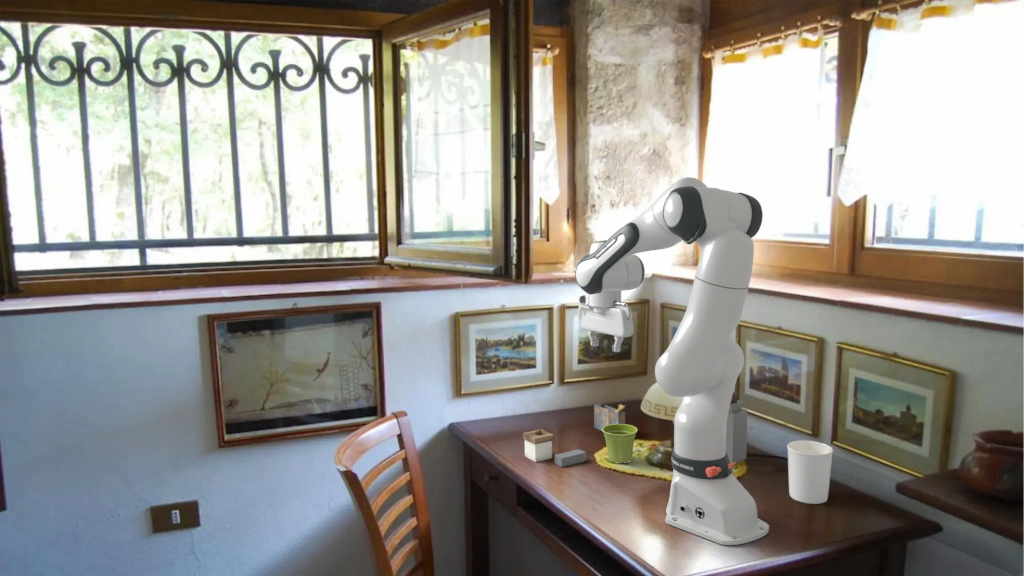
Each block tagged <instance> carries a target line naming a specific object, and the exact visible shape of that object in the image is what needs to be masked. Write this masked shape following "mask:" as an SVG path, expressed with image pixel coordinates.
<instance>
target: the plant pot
mask: <svg viewBox="0 0 1024 576" xmlns="http://www.w3.org/2000/svg"><path fill="white" fill-rule="evenodd" d="M602 433H603V436H604V438H605V444H606V445H605V446H606V450H607V451H606V452H607V457H608V458H607V459H608V460H609V462H610V461H612V462H618V463H620V464H623V463H624V462H628V461H630V462H632V457H633V451H634V444H635V438H636V435H637V433H638V428H637V427H636V426H634V425H632V424H627V423H625V424H611V425H606V426H604V427H603V428H602ZM612 462H611V463H612ZM628 463H629V462H628ZM624 464H625V463H624Z"/></svg>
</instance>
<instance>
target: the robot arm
mask: <svg viewBox="0 0 1024 576" xmlns="http://www.w3.org/2000/svg"><path fill="white" fill-rule="evenodd" d="M763 216H764V215H763V207H762V205H761V203H760V201H759V200H758V199H757V198H755V197H754V196H752V195H749V194H747V193H743V192H734V191H729V190H725V189H720V188H717V187H708V186H707V185H706V184H705V182H703V181H702V180H700V179H698V178H695V177H682V178H680V179H678V180H677V181H675V182H674V183H673V184H671V185H670V186H668V187H667V189H665V190H664V191H663V192H662V193H661V194H660V195H659V196H658V197H657V198H656V199H655V201H654V202H653V203H652V204H651V205H650V206H649V207H648V208H647V209H645V211H643V212H642V213H641V214H639V215H638V216H637V217H636V218H634V219H632V220H631V221H630V222H628V223H626V224H625V225H624V226H622V227H620V228H619V229H618V230H617V231H615V233H613V235H610V237H609V238H608V239H607V240H606V239H604V240H599V241H595V242H594V243H592V244H591V246H590V250H589V254H587V255H584V256H583V257H582V258H581V259H580V260H579V262H578V264H577V265H576V267H575V271H574V272H575V274H574V276H575V278H574V279H575V281H576V284H577V285H578V286H579V288H580V289H581V290H583V292H585V293H582V294H581V295H578V297H577V302H578V304H579V305H578V309H577V315H578V316H577V321H578V323H577V324H578V325H579V327H580V329H582V330H587V335H588V337H589V340H590V346H591V347H599V346H600V340H599V339H598V338H597V333H600V334H605V335H610V336H613V339H614V344H612V345H611V348H612V349H611V350H612V352H614V353H620V351H621V345H622V343H623V341H624V338H629V337H632V336H633V335H634V322H633V321H634V320H633V314H632V310H631V307H630V306H629V304H628V303H627V302H625V301H623V302H622V291H630V290H631V291H632V290H635V289H638V288H639V287H640V286H641V285H642V283H643V282H644V279H645V275H646V274H645V266H644V263H643V261H642V260H641V258H640V257H639V256H638V255H637V254H639V253H644V252H650V251H656V250H665V249H670V248H671V247H674V246H676V245H678V244H679V243H681V242H684V243H685V244H687V245H691V244H693V243H695V242H696V244H697V245H698V247H699V251H700V252H699V253H700V254H699V261H698V264H697V267H696V271H695V276H694V279H693V284H692V288H691V291H690V295H689V300H688V303H687V306H686V310H685V312H684V315H683V317H682V320H681V321H680V323H679V326H678V327H677V329H676V332H675V334H674V336H673V337H672V339H671V342H670V344H669V345H668V347H667V348H666V350H665V351H664V352H663V353H662V354H661V356H660V357H659V358H658V360H657V361H656V363H655V368H654V377H655V379H656V382H657V385H658V386H659V387H660V389H661V390H662V391H663V392H664V393H666V394H667V395H668V396H671V397H675V398H682V401H681V403H680V404H679V407H678V409H677V411H676V412H675V415H674V419H673V421H674V422H673V424H674V426H673V429H674V430H673V448H672V450H671V457H670V458H671V467H672V469H673V470H672V477H671V484H670V491H669V498H668V502H667V506H666V508H665V513H666V515H665V519H664V520H665V521H664V522H665V523H666V524H667V525H669V526H673V527H675V528H677V529H680V530H683V531H685V532H687V533H691V534H692V535H696V536H698V537H701V538H704V539H707V540H709V541H711V542H713V543H717V544H719V545H723V546H736V545H742V544H748V543H750V542H753V541H756V540H758V539H761V538H762V537H765V536H766V535H767V534H768V533H769V531H770V525H769V524H768V523H767V522H765V521H764V520H762V519H760V518H759V517H758V507H757V504H756V501H755V499H754V497H753V496H752V495H751V494H750V493H749V491H748V490H746V488H745V487H744V486H743V485H742V483H741V482H739V480H738V479H737V477H736V476H735V475H734V474H733V468H736V467H737V466H736V464H737V463H736V462H733V463H730V461H729V457H728V454H727V453H726V430H727V417H728V411H729V407H730V403H731V399H732V395H733V392H734V391H735V385H736V383H737V380H738V377H739V376H740V373H741V372H742V370H743V368H744V365H745V355H744V352H743V349H742V348H741V346H740V345H739V343H737V342H736V341H734V340H733V339H731V338H730V336H731V335H732V333H733V332H734V331H735V329H736V328H737V327H738V325H739V323H740V321H741V318H742V315H743V311H744V307H745V303H746V299H747V295H748V292H749V286H750V283H751V278H752V271H753V266H754V265H753V264H754V257H755V256H754V253H755V251H754V250H755V246H754V245H755V244H754V242H753V239H752V238H754V237H755V236H756V235H757V233H758V232H759V231H760V229H761V226H762V223H763Z"/></svg>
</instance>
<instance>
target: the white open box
mask: <svg viewBox="0 0 1024 576" xmlns="http://www.w3.org/2000/svg"><path fill="white" fill-rule="evenodd" d="M524 457H525V458H527V459H529V460H531V461H533V462H534V463H537V462H541V461H546V460H551V459H553V441H549V442H545V443H540V444H536V445H535V444H533V443H531V442H529V441H527V440H525V439H524Z"/></svg>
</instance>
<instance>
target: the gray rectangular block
mask: <svg viewBox="0 0 1024 576" xmlns="http://www.w3.org/2000/svg"><path fill="white" fill-rule="evenodd" d="M584 461H585V462H586V461H587V452H585V451H584V450H582V449H579V448H578V449H573V450H570V451H564V452H561V453H556V454H554V464H555V465H557V466H558V467H560V468H564V467H567V466H568V467H569V466H572V465H576V464H580V463H584Z"/></svg>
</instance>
